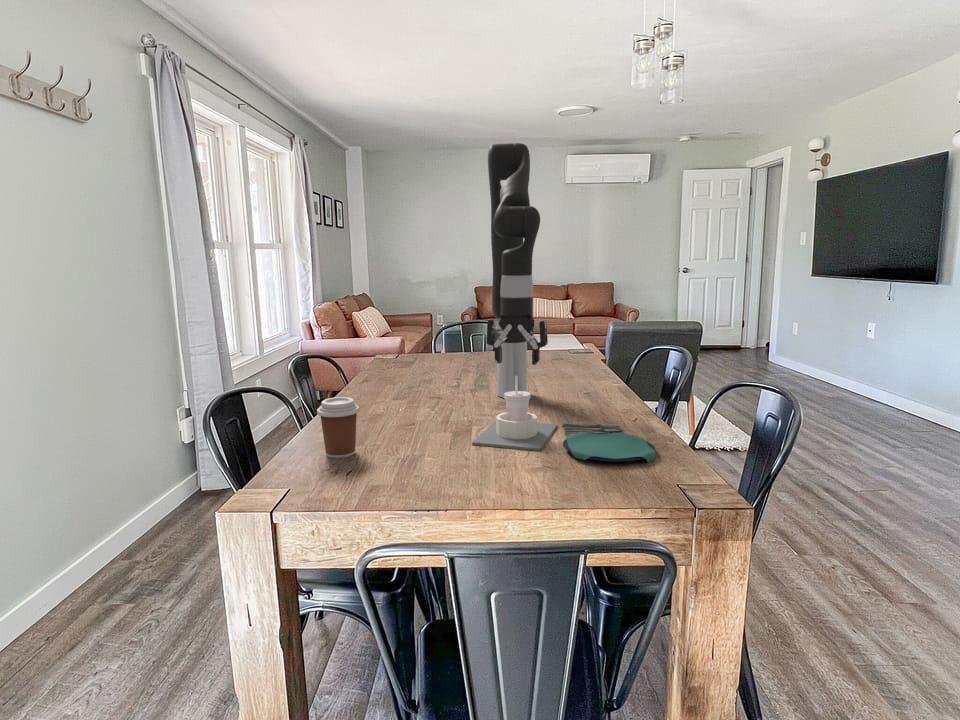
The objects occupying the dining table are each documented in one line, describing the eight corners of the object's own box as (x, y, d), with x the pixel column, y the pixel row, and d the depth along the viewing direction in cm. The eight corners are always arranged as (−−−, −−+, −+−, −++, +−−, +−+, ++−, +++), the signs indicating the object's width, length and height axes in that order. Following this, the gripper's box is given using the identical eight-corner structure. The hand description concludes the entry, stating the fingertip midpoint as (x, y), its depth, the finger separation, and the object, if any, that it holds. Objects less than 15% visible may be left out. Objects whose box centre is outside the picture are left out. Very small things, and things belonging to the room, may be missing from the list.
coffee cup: (344, 444, 135) (341, 394, 133) (370, 452, 129) (367, 399, 127) (310, 454, 128) (307, 401, 126) (336, 463, 122) (333, 408, 120)
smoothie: (499, 434, 139) (499, 377, 137) (510, 427, 145) (510, 372, 143) (523, 437, 136) (524, 379, 134) (534, 430, 142) (535, 374, 140)
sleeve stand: (496, 421, 152) (496, 404, 152) (557, 426, 147) (557, 409, 147) (472, 444, 134) (471, 425, 133) (540, 451, 129) (540, 431, 128)
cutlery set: (567, 468, 119) (568, 457, 118) (554, 428, 148) (554, 419, 148) (666, 469, 118) (666, 458, 118) (632, 429, 148) (633, 420, 147)
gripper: (550, 294, 136) (549, 362, 139) (492, 293, 140) (492, 359, 143) (543, 296, 129) (543, 368, 132) (482, 295, 133) (483, 365, 136)
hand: (516, 363), depth 138 cm, fingers open, 8 cm apart
